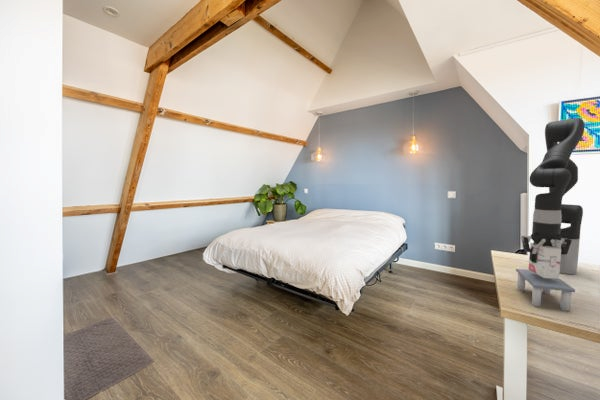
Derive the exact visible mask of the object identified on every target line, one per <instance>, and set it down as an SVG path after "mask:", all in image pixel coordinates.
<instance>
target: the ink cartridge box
mask: <svg viewBox="0 0 600 400" xmlns="http://www.w3.org/2000/svg"><path fill="white" fill-rule="evenodd" d="M533 242H534V241H533ZM533 242H531V241H530V242H529V247H530V248H531V247H532V244H533ZM555 242H556V247H552V246H540V249H539V250H538V251H537V252H536V254H537V257H536V263H533V262H531V260H530V259H529V258H530V255H529V258H528V270H531V271H532V272H534V273H536V274H538V275H540V276H541V277H543V278H553V279H560V273H559V272H560V259H561V241H559V240H556V239H555ZM534 245H535V246H536V245H537V244H534Z"/></svg>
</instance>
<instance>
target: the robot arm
mask: <svg viewBox="0 0 600 400" xmlns="http://www.w3.org/2000/svg"><path fill="white" fill-rule="evenodd" d="M584 133H585V122H584V120H583V118H580V117H575V118H568V119H567V118H566V119H562V120H555V121H551V122H547V123H546V124H545V129H544V137H545V144H546V152H545V154H544V156H543V159H542V161H541V163H539V165H538V166H537V167H535V168H534V170H533V171H532V172H531V173H530V176H529V183H530V184H531V185H532V186H533V187H536V188H548V191H549V192H544V193H538V194H536V196H535V198H534V210H533V214H532V229H531V232H532V233H531V234H530V235H522V236H521V243H522V248H523V250H524V251H526V252H527V253H529V256H530V258H528V260H529V259H530V260H531V262H533V263H536V257H537V254H536V252H537V251H538V250H539V249H540V246H552V247H556V242H555V239H556V240H559V241H561V259H560V272H559V274H567V275H576V274H577V273H578V262H579V252H580V237H581V228H582V221H583V214H584V210H583V209H584V208H583V206H582V205H579V204H564V203H563V202H562V201H563V197H564V196H565V195H566V194H567V193H569V191H570V190H571V189H573V188H574V186H576V184H577V182H578V180H579V167H578V165H577V164H576V163H575V162H574V161H573V160H572V159H571V155H572V153H573V152H574V150H575V149H576V147H577V146H578V144H579V142H580V141H581V140H582V137H583V135H584ZM562 224H570V226H567V227H563V228H562ZM531 240H532V241H533V244H532V247H531V248H530V242H531ZM534 244H537V245H536V246H535V245H534Z"/></svg>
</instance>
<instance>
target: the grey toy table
mask: <svg viewBox="0 0 600 400" xmlns="http://www.w3.org/2000/svg"><path fill="white" fill-rule="evenodd" d="M515 272H517V283H516V284H517V287H516V289H517V291H520V292H521V291H523V292H525V291H526V282H527V283H529V284H530V285H531V286H532V291H531V292H532V293H531V294H532V295H531V305H532V306H533V307H536V308H541V306H542V305H541V304H542V303H541V302H542V293H543V294H546V295H550V294H551V291H552V290H553V291H558V292H559V291H560V304H559V306H560V307H559V308H560V309H561V310H562V311H566V312H571V303H572V302H571V301H572V293H576V288H574V287H572V286H571V285H569V284H568V283H566V282H565V281H563V279H561V278H559V279H553V278H543V277H541V276H540V275H538V274H536V273H534V272H532V271H531V270H529V269H524V268H515Z"/></svg>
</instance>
